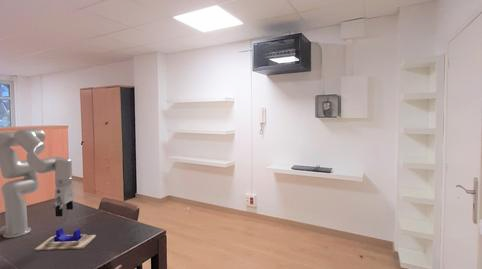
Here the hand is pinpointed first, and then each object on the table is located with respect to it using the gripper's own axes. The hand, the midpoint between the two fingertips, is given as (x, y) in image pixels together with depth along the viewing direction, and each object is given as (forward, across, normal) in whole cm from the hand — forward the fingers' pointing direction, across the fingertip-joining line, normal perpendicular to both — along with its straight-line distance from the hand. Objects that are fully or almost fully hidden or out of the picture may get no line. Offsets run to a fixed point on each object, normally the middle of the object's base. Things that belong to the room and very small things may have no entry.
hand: (64, 212), depth 142 cm
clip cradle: (+17, 0, -1) cm, 17 cm away
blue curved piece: (+16, 0, -1) cm, 16 cm away
